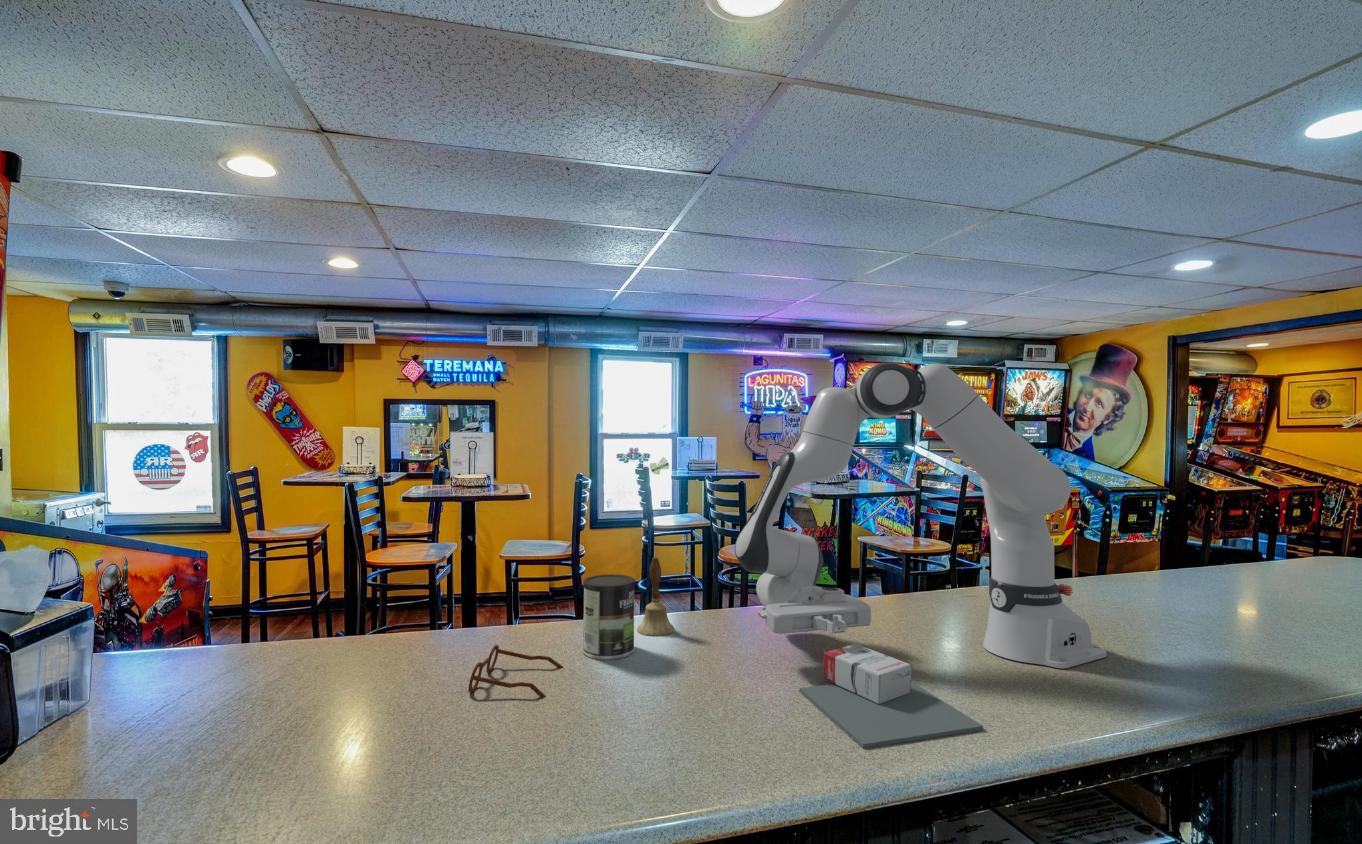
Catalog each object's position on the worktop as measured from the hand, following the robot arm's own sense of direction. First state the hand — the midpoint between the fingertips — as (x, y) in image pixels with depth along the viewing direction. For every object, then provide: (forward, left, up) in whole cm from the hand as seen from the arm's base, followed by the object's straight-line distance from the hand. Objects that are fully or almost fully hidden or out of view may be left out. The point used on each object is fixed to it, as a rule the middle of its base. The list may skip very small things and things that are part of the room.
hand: (839, 628), depth 106 cm
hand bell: (+25, -35, -9) cm, 44 cm away
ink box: (0, -1, -6) cm, 6 cm away
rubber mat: (-1, +12, -9) cm, 15 cm away
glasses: (+55, -14, -10) cm, 57 cm away
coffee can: (+37, -25, -9) cm, 46 cm away
